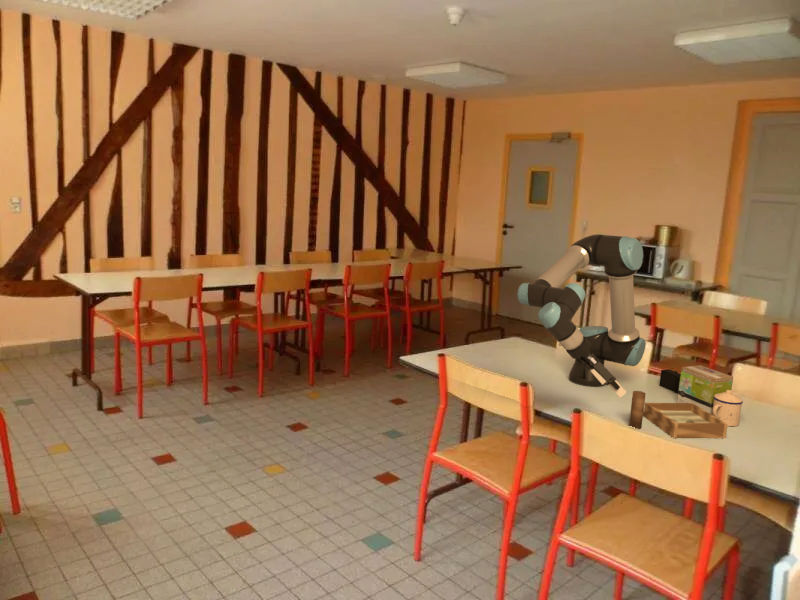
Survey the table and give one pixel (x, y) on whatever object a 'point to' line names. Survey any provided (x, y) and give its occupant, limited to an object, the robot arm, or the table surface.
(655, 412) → the oak box
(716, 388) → the tea box
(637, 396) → the walnut dowel
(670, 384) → the digital camera
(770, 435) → the table surface
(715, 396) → the teacup with lid
